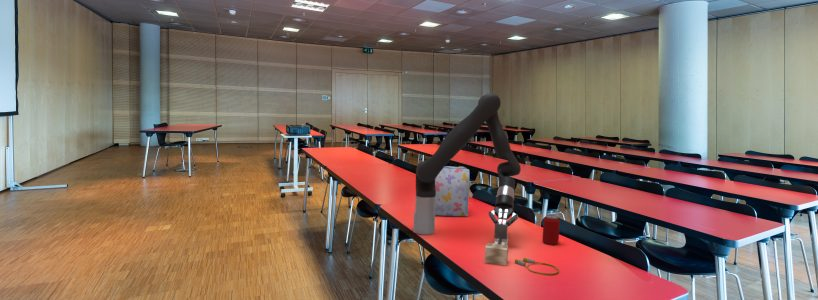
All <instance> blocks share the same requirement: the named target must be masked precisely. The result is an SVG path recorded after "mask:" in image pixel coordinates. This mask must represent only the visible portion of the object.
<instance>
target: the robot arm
mask: <svg viewBox="0 0 818 300" xmlns="http://www.w3.org/2000/svg"><path fill="white" fill-rule="evenodd" d="M501 103H502V102H501V99H500V97H499V95H497V94H495V93H486V94H484V95H482V96H481V97H480V98H479V100H478V103H477V104H476V107H475V108H474V109H473V110H472V111H471V112H470V113H469V114H467V116H466V117H465V118H463V119H462V120H461V121H460V122H458V123H457V124H456V125H455V126H454V127H453V128H452V129H451V130H450V131H449V132H448V133H447V134H446V135H445V137H443V139H442V142H441V143H440V144H439V147H438V148H437V149H436V151H435V152H434V153H433V154H432V155H431V156H430V157H429V158H428V159H427V160H423V161H421V162H419V163H418V164H417V166H416V168H415V206H414V207H415V211H414V212H413V228H412V229H413V231H412V232H413V233H415V234H417V235H422V236H423V235H425V236H426V235H427V236H428V235H433V234H435V225H436V223H435V221H436V215H435V201H436V188H435V178H436V177H437V176H438V174H439V173H440V172H441V170H442V169H443V168H444V166H446V165H448V163H449V162H450V161H451V160H452V159H453V158H454V157H455V156H456V155H457V154H458V153H459V152H460V151H461V150H462V149H463V148H465V146H466V145H467V143H469V142H470V141H471V139H472V138H473V137H474V136H475V134H476V133H477V132H478V130H480V128H481V127H482V126H483V124H484V123H486V126H487V128H488V132H489V135H490V138H491V141H492V145H493V149H494V152H495V155H496V157H497V158H498V159H506V161H504V162H500V163H499V164H498V165H497V168H496V171H497V176H498V188H497V193H496V199H495V206H494V208H493V210H492V211H491V210H488V217H489V218H490V220H492V222H493V224H494V225H495V223H500V224H508V227H510V226H511V225H512V224H514V223H515V222H516V221H517V220H518V219H519V215H518V213H515V212H514V211H515V210H514V205H515V204H514V201H515V187H516V186H515V185H516V181H515V178H513V177H514V176H518V175H520V173H521V169H522V168H521V164H520V162H519V161H518V160H517V158H516V156H515V154H514V153H513V150H512V148H511V146H510V143H509V139H508V137H507V134H506V132H505V130H504V128H503V125H502V124H501V121H500V119H499V112H498V111H499V109H500V108H501Z"/></svg>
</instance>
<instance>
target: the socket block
mask: <svg viewBox="0 0 818 300" xmlns="http://www.w3.org/2000/svg"><path fill="white" fill-rule="evenodd" d="M484 249H485V250H484V264H485V263H486V264H492V265H498V266H499V265H500V266H507V264H508V260H509V257H508V256H509V245H502V244H494V242H493V243H492V242H487V243H486V244H485V247H484Z"/></svg>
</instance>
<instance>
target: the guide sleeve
mask: <svg viewBox="0 0 818 300" xmlns="http://www.w3.org/2000/svg"><path fill="white" fill-rule="evenodd" d="M498 242H499V239H496V238H494V241H493V243H494V244H498ZM508 244H509V234H508V233H507V240H504V239H502V245H508ZM508 246H509V245H508Z"/></svg>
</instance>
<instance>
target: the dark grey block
mask: <svg viewBox="0 0 818 300" xmlns="http://www.w3.org/2000/svg"><path fill="white" fill-rule="evenodd" d="M508 227H509V226H508V224H503V223H502V224H500V223H495V224H494V235H493V239H495V238H496V239H499V242H498V244H502V241H503V239H504V240H507V234H508V229H509V228H508Z"/></svg>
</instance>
